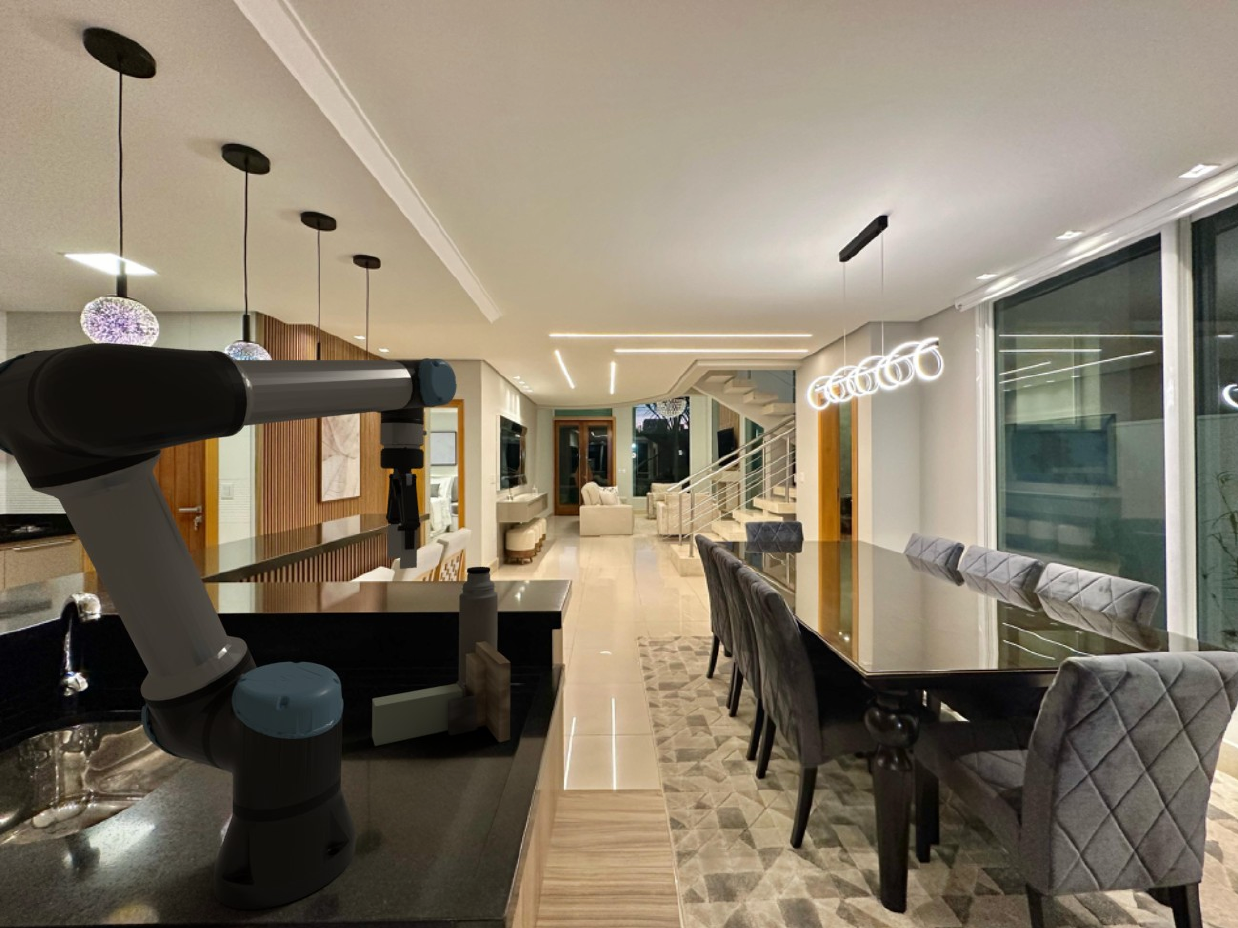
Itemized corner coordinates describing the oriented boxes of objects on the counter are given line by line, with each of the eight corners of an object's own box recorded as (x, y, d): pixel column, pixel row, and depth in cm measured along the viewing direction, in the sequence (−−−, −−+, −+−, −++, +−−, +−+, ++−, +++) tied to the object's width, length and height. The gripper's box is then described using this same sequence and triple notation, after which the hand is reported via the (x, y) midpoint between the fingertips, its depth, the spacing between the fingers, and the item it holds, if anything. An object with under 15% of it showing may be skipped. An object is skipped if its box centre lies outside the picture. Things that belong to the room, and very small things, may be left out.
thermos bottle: (478, 688, 130) (479, 563, 130) (504, 696, 125) (505, 566, 126) (450, 700, 123) (451, 568, 123) (477, 709, 119) (478, 571, 119)
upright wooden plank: (460, 751, 100) (460, 670, 101) (438, 717, 114) (439, 646, 115) (509, 739, 105) (510, 662, 105) (483, 708, 119) (484, 639, 119)
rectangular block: (375, 746, 102) (375, 704, 102) (371, 736, 106) (372, 695, 106) (465, 726, 110) (465, 687, 110) (459, 718, 114) (459, 680, 114)
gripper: (438, 445, 98) (437, 570, 98) (410, 450, 120) (410, 553, 120) (391, 444, 95) (390, 574, 94) (371, 449, 116) (370, 555, 116)
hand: (401, 562), depth 107 cm, fingers open, 13 cm apart
